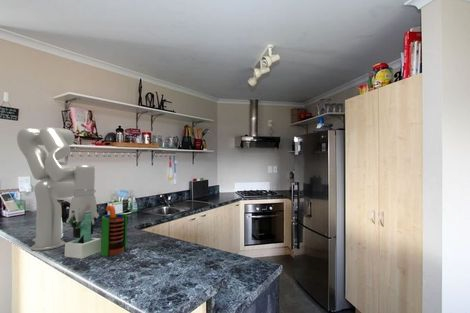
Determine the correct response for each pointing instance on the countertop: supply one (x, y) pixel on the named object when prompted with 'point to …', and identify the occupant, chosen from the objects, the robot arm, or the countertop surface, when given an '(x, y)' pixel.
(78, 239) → the spray can
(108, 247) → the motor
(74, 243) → the square frame
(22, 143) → the robot arm
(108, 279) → the countertop surface
